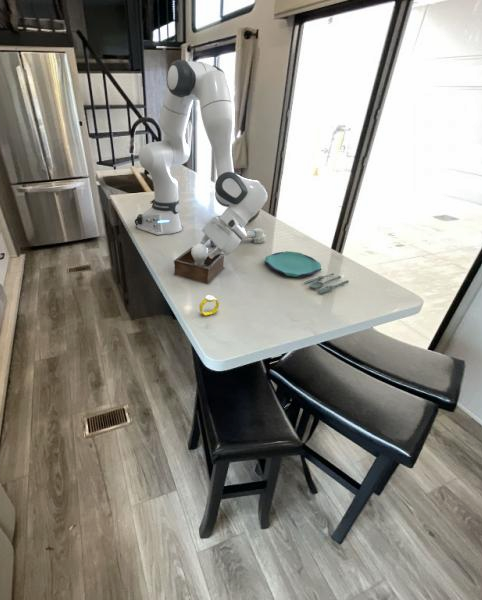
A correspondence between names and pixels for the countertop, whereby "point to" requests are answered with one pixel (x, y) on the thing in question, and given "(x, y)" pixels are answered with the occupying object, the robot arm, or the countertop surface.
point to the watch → (209, 299)
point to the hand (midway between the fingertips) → (204, 251)
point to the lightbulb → (199, 253)
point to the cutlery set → (299, 268)
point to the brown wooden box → (198, 267)
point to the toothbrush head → (252, 236)
